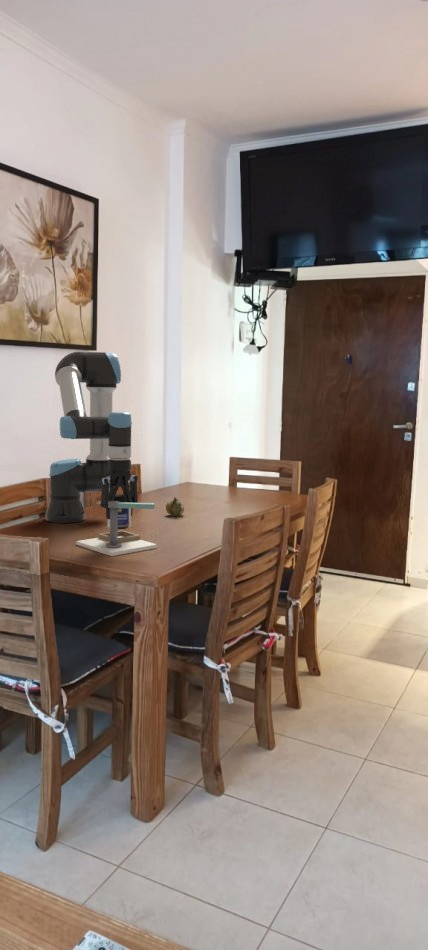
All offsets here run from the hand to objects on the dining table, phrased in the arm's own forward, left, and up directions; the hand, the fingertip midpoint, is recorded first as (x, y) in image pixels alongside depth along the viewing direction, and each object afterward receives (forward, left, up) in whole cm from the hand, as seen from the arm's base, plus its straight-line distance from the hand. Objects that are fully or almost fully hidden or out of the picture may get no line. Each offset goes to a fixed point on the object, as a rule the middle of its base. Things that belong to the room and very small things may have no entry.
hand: (119, 527), depth 237 cm
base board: (+4, -4, -5) cm, 8 cm away
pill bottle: (0, 0, -1) cm, 1 cm away
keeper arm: (+12, -4, +9) cm, 15 cm away
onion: (-26, +47, -6) cm, 54 cm away
